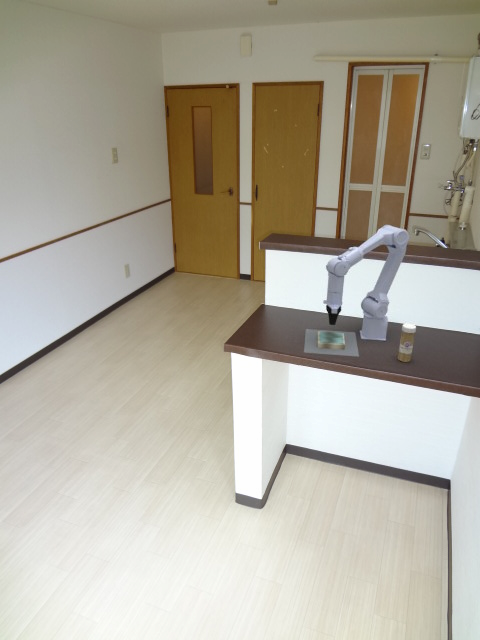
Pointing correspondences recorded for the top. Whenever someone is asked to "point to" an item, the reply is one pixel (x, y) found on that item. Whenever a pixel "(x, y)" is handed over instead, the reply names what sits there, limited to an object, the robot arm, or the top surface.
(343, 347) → the teal framed tile
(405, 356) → the sprinkles bottle
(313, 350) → the slate mat
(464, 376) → the top surface
